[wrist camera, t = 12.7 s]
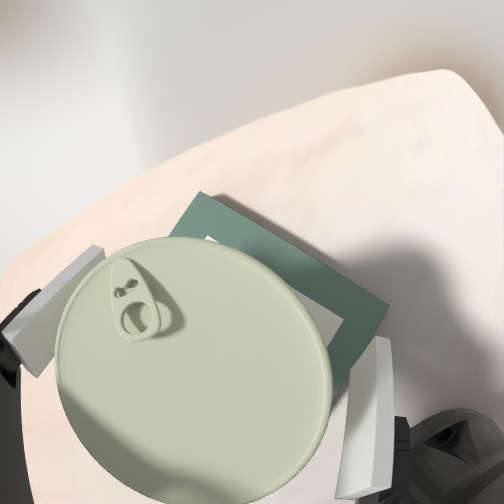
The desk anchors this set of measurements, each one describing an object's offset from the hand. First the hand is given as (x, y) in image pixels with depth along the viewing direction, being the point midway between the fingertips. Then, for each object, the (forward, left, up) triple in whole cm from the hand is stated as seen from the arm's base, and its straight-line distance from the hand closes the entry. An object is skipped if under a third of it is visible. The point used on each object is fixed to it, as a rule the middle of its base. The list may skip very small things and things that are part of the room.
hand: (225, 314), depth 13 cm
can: (-1, +2, -7) cm, 7 cm away
